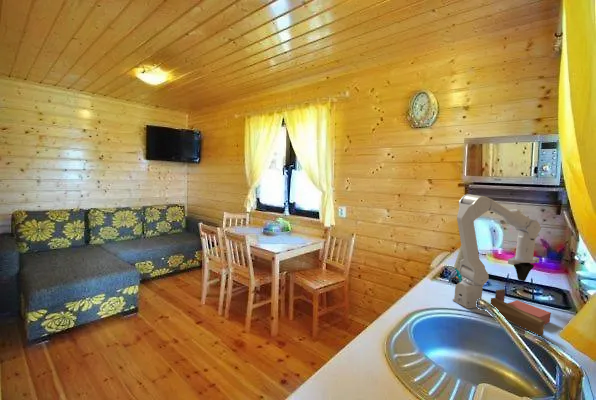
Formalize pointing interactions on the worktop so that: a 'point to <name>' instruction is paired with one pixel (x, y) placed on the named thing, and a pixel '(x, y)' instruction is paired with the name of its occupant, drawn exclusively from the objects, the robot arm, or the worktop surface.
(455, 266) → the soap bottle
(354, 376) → the worktop surface
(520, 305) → the reddish rectangular block
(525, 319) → the shelf wall
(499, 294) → the bookend
